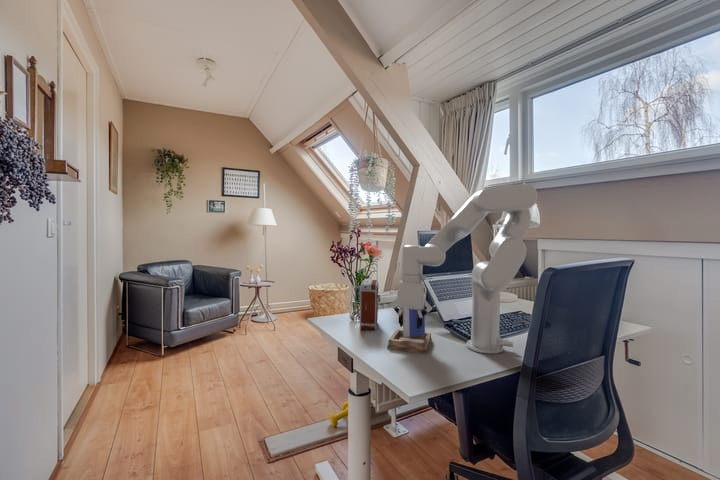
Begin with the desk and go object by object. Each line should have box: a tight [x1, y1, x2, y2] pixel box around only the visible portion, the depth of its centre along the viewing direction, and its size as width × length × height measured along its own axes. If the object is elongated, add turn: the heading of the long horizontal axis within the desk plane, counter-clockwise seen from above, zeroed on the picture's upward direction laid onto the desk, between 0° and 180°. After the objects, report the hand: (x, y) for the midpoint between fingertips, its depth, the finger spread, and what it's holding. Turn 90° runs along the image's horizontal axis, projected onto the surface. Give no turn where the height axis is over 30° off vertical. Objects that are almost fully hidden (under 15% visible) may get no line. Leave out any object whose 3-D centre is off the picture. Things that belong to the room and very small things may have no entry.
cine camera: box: [359, 278, 381, 331], centre depth 149 cm, size 9×19×20 cm, turn 174°
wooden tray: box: [386, 328, 433, 355], centre depth 124 cm, size 14×14×3 cm
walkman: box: [402, 305, 426, 337], centre depth 124 cm, size 8×3×12 cm, turn 97°
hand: (410, 326), depth 124 cm, fingers closed on walkman, 5 cm apart
